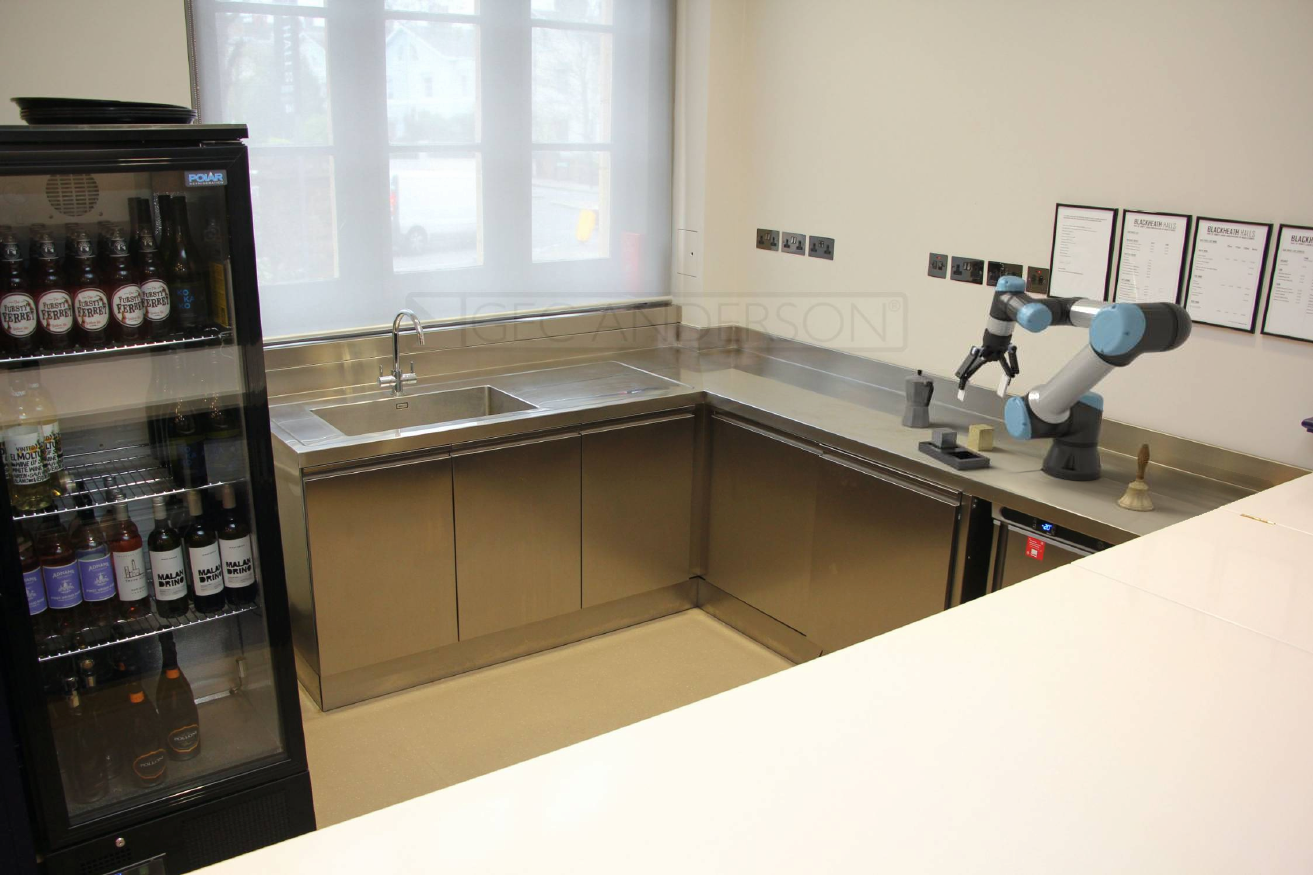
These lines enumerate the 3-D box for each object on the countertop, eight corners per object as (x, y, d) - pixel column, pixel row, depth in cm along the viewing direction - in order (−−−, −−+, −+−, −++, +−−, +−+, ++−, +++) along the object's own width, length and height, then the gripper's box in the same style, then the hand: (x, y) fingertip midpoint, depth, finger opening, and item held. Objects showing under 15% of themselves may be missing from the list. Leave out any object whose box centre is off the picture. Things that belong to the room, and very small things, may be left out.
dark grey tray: (989, 469, 280) (990, 458, 279) (957, 472, 277) (959, 461, 276) (947, 449, 298) (948, 439, 298) (917, 451, 295) (918, 442, 295)
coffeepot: (892, 420, 330) (896, 366, 325) (918, 418, 332) (923, 364, 327) (915, 432, 316) (919, 376, 311) (942, 431, 318) (947, 374, 313)
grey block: (955, 455, 291) (957, 431, 289) (940, 456, 289) (942, 433, 287) (945, 450, 295) (947, 427, 293) (930, 451, 294) (932, 428, 292)
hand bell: (1151, 502, 255) (1160, 441, 251) (1155, 513, 247) (1165, 450, 243) (1115, 498, 258) (1124, 438, 253) (1118, 509, 250) (1127, 447, 246)
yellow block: (992, 451, 297) (994, 428, 295) (977, 452, 295) (979, 429, 293) (981, 446, 301) (984, 424, 300) (967, 448, 300) (969, 425, 298)
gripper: (1028, 322, 290) (1009, 388, 301) (953, 327, 283) (937, 394, 293) (1044, 333, 284) (1024, 399, 295) (968, 339, 276) (951, 407, 287)
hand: (980, 397), depth 294 cm, fingers open, 13 cm apart
